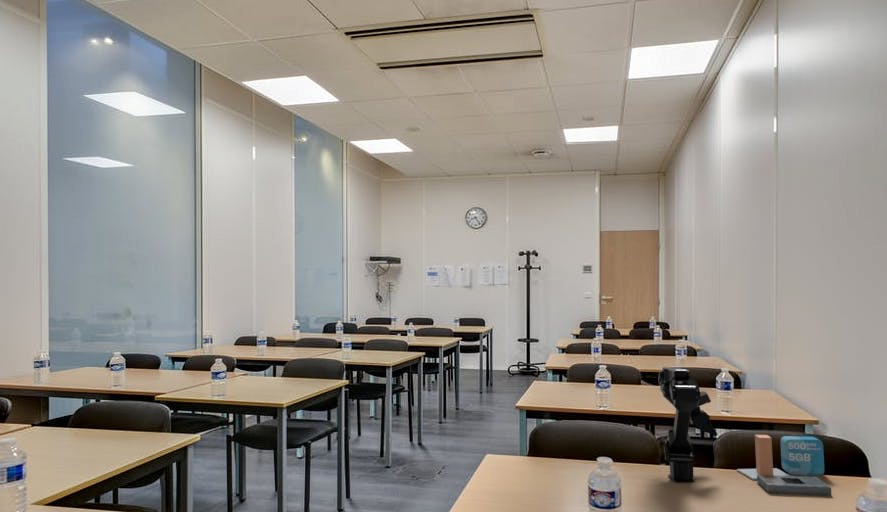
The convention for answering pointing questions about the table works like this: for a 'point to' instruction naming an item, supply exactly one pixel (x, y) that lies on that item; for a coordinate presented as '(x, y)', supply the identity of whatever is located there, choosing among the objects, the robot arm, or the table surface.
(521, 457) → the table surface
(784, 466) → the data package
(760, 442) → the peg
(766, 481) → the grey base plate
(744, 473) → the pad
